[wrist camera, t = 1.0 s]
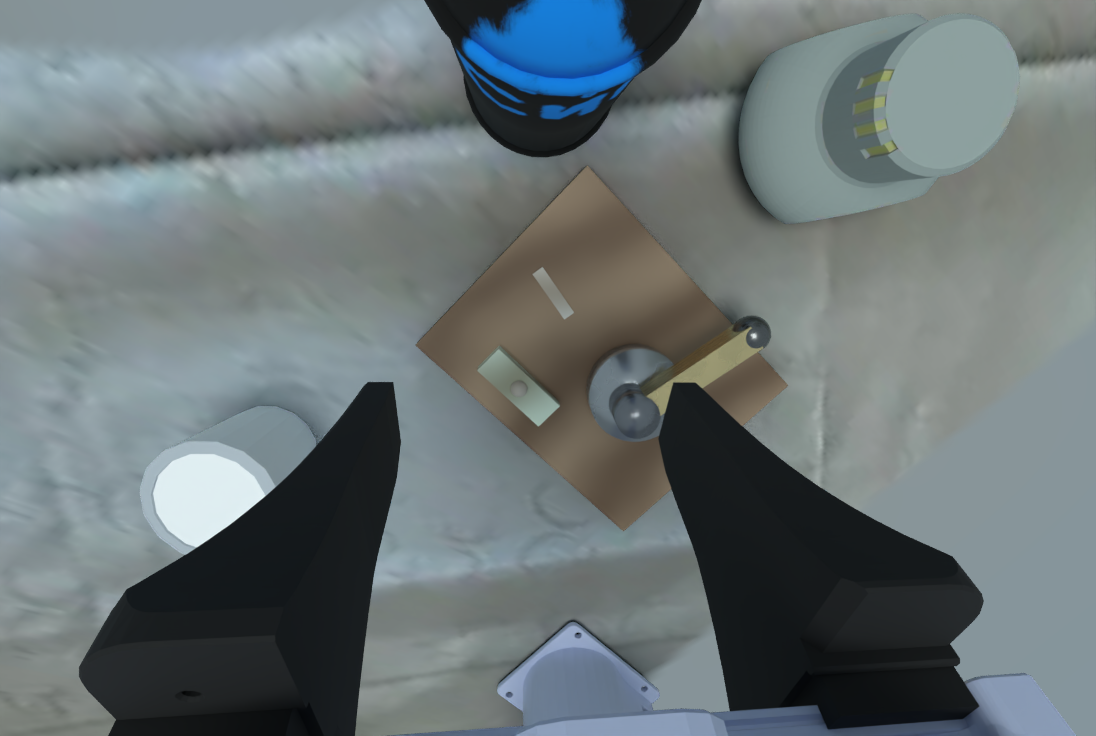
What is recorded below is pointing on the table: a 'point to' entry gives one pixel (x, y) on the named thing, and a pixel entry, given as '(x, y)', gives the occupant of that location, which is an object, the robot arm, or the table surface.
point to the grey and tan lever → (662, 378)
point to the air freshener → (874, 113)
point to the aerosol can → (554, 62)
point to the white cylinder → (221, 474)
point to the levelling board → (584, 341)
